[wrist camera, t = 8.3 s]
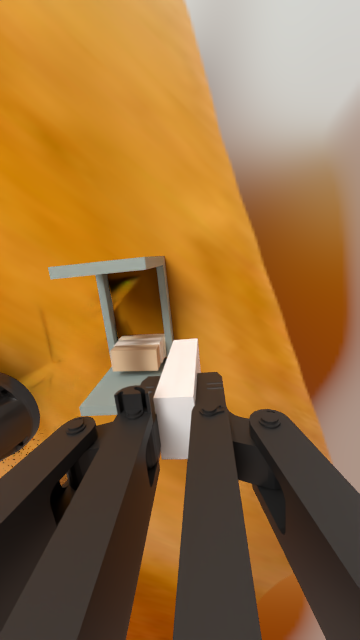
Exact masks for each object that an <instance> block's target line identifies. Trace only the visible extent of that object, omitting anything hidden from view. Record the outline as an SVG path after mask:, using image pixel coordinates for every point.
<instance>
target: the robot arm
mask: <svg viewBox="0 0 360 640" xmlns="http://www.w3.org/2000/svg"><path fill="white" fill-rule="evenodd" d="M114 398H115V403H116V409H117V416H116V418H115V420H114V421H113V422H110V423H106V424H102V425H98V426H96V424H95V421H94V419H93V418H91V417H79V418H78V417H77V418H74V419H72V420H70V421H68V422H66V423H65V424H63V425H62V426H61V427H60V428H59V429H57V430H56V431H55V432H54V433H53V434H52V435H50V436H49V437H48V438H47V439H46V440H45V441H43V442H42V443H41V444H40V445H39V446H38V447H36V448H35V449H34V450H33V451H32V452H31V453H29V454H28V455H27V456H26V457H25V458H24V459H23V460H21V461H20V462H19V463H18V464H17V465H16V466H14V467H13V468H12V469H11V470H10V471H9V472H7V473H6V474H5V475H4V476H3V477H2V478H0V640H126V635H127V630H128V625H129V620H130V615H131V610H132V605H133V600H134V595H135V590H136V585H137V581H138V576H139V571H140V566H141V561H142V556H143V551H144V546H145V541H146V536H147V531H148V526H149V521H150V516H151V511H152V506H153V501H154V496H155V491H156V486H157V481H158V476H159V471H160V465H159V459H158V457H159V453H160V449H161V456H162V459H188V462H187V474H186V486H185V498H184V510H183V522H182V534H181V546H180V559H179V571H178V583H177V595H176V607H175V619H174V631H173V640H262V638H261V632H260V625H259V618H258V611H257V604H256V598H255V591H254V584H253V577H252V571H251V564H250V557H249V550H248V544H247V537H246V530H245V523H244V517H243V510H242V503H241V496H240V490H239V483H238V480H241V481H245V482H248V483H251V484H252V486H253V490H254V492H255V494H256V496H257V498H258V500H259V502H260V504H261V506H262V508H263V510H264V512H265V514H266V516H267V518H268V521H269V523H270V525H271V527H272V529H273V531H274V533H275V535H276V537H277V539H278V541H279V543H280V545H281V547H282V549H283V551H284V553H285V556H286V558H287V560H288V562H289V564H290V566H291V568H292V570H293V572H294V574H295V576H296V578H297V580H298V582H299V584H300V586H301V588H302V590H303V592H304V595H305V597H306V599H307V601H308V603H309V605H310V607H311V609H312V611H313V613H314V615H315V617H316V619H317V621H318V623H319V625H320V627H321V630H322V632H323V634H324V636H325V638H326V640H360V494H359V493H358V492H357V491H356V490H355V489H354V487H353V486H351V484H350V483H349V482H348V481H347V480H346V479H345V478H344V477H343V476H342V475H341V473H340V472H339V471H338V470H337V469H336V468H335V467H334V466H333V465H332V464H331V463H330V462H329V461H328V460H327V458H326V457H325V456H324V455H323V454H322V453H321V452H320V451H319V450H318V449H317V448H316V447H315V446H314V444H313V443H312V442H311V441H310V440H309V439H308V438H307V437H306V436H305V435H304V434H303V433H302V432H301V431H300V429H299V428H298V427H297V426H296V425H295V424H294V423H293V422H292V421H291V420H290V419H289V418H288V417H287V416H286V415H284V414H283V413H281V412H278V411H276V410H270V409H263V410H258V411H255V412H254V413H252V414H251V415H250V418H249V419H247V418H242V417H238V416H236V415H234V414H232V413H231V412H229V410H228V409H227V407H226V402H225V395H224V388H223V381H222V376H221V375H219V374H218V373H217V372H208V373H201V370H200V359H199V348H198V338H197V339H183V340H173V343H172V346H171V349H170V352H169V355H168V357H167V360H166V363H165V366H164V369H163V372H162V374H161V376H148V377H147V378H146V379H144V380H143V381H142V382H141V384H140V385H134V386H128V387H125V388H122V389H121V390H119V391H117V392H116V393H115V394H114ZM39 423H40V414H39V409H38V406H37V403H36V401H35V399H34V397H33V396H32V394H31V393H30V392H29V390H28V389H27V388H26V387H25V386H24V385H23V384H21V383H20V382H19V381H17V380H16V379H14V378H13V377H11V376H9V375H6V374H3V373H0V461H1V460H3V459H5V458H7V457H8V456H10V455H12V454H14V453H15V452H17V451H19V450H20V449H22V448H23V447H24V446H25V445H26V444H27V443H28V442H29V441H30V440H31V439H32V438H33V436H34V435H35V434H36V432H37V430H38V427H39ZM65 474H67V478H68V480H67V481H66V482H65V483H64V484H63V485H62V486H61V485H60V482H59V480H60V479H61V478H62V477H63V476H64V475H65Z"/></svg>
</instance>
